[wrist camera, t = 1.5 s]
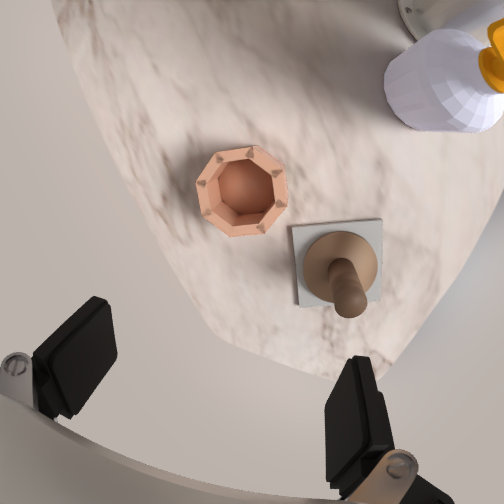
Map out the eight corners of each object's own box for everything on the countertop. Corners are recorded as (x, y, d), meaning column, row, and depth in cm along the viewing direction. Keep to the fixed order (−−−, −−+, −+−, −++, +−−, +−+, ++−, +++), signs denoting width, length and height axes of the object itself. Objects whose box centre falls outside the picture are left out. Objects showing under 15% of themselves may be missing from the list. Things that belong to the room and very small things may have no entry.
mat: (381, 218, 30) (382, 220, 29) (379, 298, 33) (380, 300, 33) (291, 226, 32) (291, 227, 31) (299, 305, 35) (299, 308, 35)
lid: (375, 227, 30) (398, 256, 22) (374, 295, 33) (391, 336, 25) (300, 234, 31) (300, 264, 24) (305, 301, 34) (306, 344, 27)
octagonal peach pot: (281, 142, 28) (279, 142, 24) (291, 217, 31) (290, 231, 27) (206, 153, 30) (190, 156, 25) (218, 224, 33) (206, 239, 28)
